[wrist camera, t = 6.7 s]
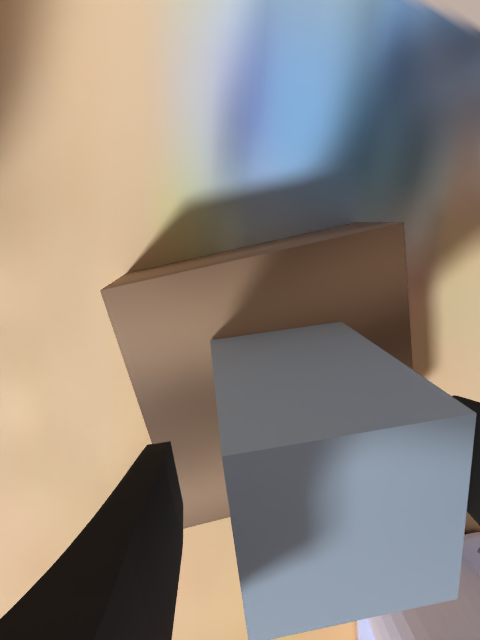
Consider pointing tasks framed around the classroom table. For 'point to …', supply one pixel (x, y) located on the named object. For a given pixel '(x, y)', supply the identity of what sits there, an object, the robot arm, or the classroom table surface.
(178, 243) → the classroom table surface
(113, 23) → the classroom table surface
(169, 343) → the walnut base
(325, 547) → the grey block
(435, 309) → the classroom table surface
